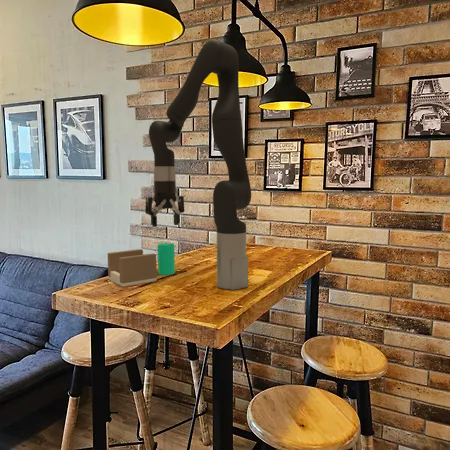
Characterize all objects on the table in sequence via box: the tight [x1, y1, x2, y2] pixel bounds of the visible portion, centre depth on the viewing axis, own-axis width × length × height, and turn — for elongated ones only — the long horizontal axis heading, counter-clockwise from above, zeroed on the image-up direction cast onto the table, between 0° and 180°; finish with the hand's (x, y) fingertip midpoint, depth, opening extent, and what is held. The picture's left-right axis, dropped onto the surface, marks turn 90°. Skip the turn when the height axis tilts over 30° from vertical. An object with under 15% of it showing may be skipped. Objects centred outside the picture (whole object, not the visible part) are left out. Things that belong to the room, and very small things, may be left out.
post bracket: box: [107, 248, 158, 287], centre depth 138 cm, size 12×12×9 cm
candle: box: [157, 242, 176, 276], centre depth 148 cm, size 6×6×12 cm
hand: (165, 225), depth 146 cm, fingers open, 8 cm apart
